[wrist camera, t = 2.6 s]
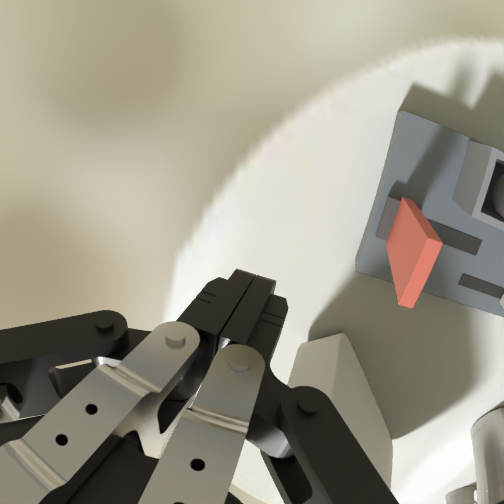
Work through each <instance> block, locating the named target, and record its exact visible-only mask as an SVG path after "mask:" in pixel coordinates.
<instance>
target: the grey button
mask: <svg viewBox="0 0 504 504" xmlns="http://www.w3.org/2000/svg"><path fill="white" fill-rule="evenodd" d="M492 199H493V204H494V207H495V209H496V211H497V212H498V213H499V214H500V215H501V216H502V217H503V218H504V174H503V175H501V176H500V177H499V178H498V180H497V181H496V183H495V185H494V188H493V194H492Z"/></svg>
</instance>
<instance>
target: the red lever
mask: <svg viewBox="0 0 504 504" xmlns="http://www.w3.org/2000/svg"><path fill="white" fill-rule="evenodd" d="M421 211H422V208H421V206H420V205H417V204H415V202H414V201H413V200H410V199H408V198H405V197H402V199H400V198H397V197H394V196H391V195H388V197H387V200H386V203H385V206H384V209H383V213H382V216H381V219H380V222H379V225H378V228H377V231H376V237H377V238H380V239H383V240H386V241H387V243H386V249H387V253H388V257H389V262H390V266H391V271H392V275H393V280H394V285H395V290H396V296H397V301H398V305H401V306H405V307H408V308H412V309H413V307H414V305H415V303H416V301H417V299H418V297H419V295H420V293H421V291H422V289H423V287H424V285H425V283H426V280H427V278H428V276H429V274H430V272H431V270H432V267H433V265H434V263H435V261H436V258H437V256H438V254H439V251H440V249H441V246H442V244H443V243H442V241H441V240H440V238H439V237H438V235H437V234H436V232H435V231H434V229H433V228H432V226H431V225H430V223H429V222H428V220H427V219H426V218H425V216H424V215H423V213H422V212H421Z"/></svg>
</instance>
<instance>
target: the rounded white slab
mask: <svg viewBox="0 0 504 504" xmlns="http://www.w3.org/2000/svg"><path fill="white" fill-rule="evenodd" d="M287 386H289V387H290V388H294V387H297V386H310V387H314V388H317V389H319V390H321V391H322V392H324V393H325V394H326V395H327V396H328V397H329V398H330V400H331V401H332V403H333V404H334V406H335V407H336V409H337V410H338V412H339V413H340V415H341V417H342V418H343V420H344V421H345V423H346V424H347V426H348V427H349V429H350V430H351V432H352V433H353V435H354V436H355V438H356V440H357V441H358V443H359V444H360V446H361V447H362V449H363V450H364V452H365V453H366V455H367V456H368V458H369V459H370V461H371V462H372V464H373V465H374V467H375V468H376V470H377V471H378V473H379V474H380V476H381V477H382V479H383V480H384V482H385V483H386V485H387V486H388V488H389V489H390V487H391V475H392V458H393V446H392V440H391V436H390V433H389V431H388V428H387V426H386V423H385V421H384V418H383V416H382V413H381V411H380V409H379V406H378V404H377V402H376V399H375V397H374V394H373V392H372V390H371V387H370V385H369V383H368V380H367V378H366V376H365V374H364V371H363V369H362V367H361V364H360V362H359V360H358V358H357V356H356V353H355V351H354V349H353V347H352V344H351V342H350V340H349V338H348V337H347V335H346V334H344V333H339V334H335V335H332V336H328V337H324V338H321V339H317V340H313V341H309V342H305V343H302V344H301V345H300V347H299V348H298V351H297V354H296V358H295V361H294V364H293V368H292V371H291V375H290V378H289V381H288V384H287Z"/></svg>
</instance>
